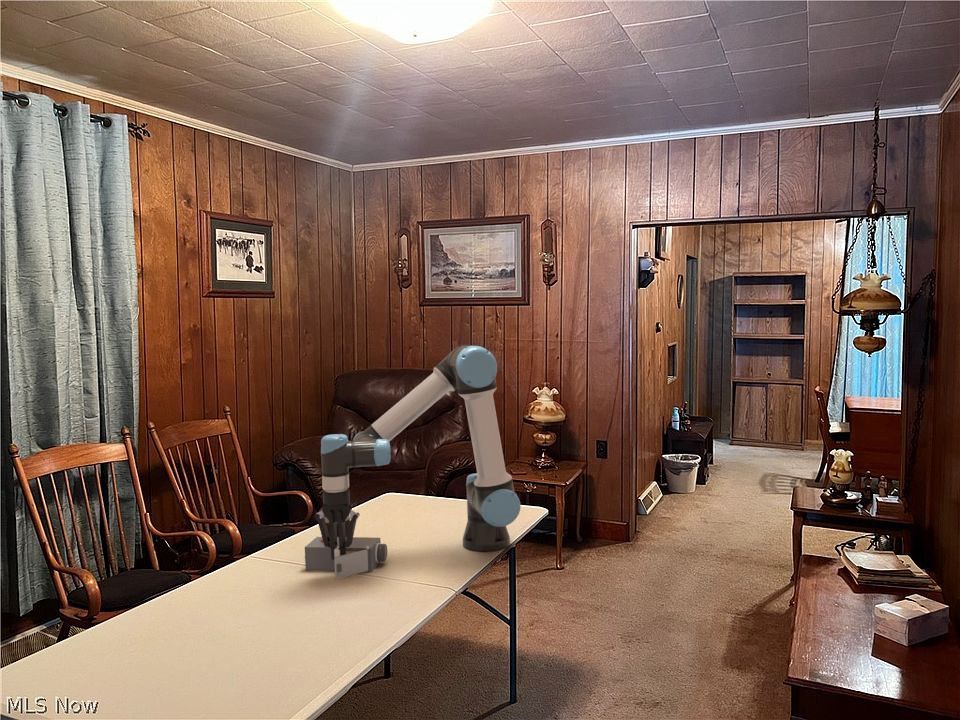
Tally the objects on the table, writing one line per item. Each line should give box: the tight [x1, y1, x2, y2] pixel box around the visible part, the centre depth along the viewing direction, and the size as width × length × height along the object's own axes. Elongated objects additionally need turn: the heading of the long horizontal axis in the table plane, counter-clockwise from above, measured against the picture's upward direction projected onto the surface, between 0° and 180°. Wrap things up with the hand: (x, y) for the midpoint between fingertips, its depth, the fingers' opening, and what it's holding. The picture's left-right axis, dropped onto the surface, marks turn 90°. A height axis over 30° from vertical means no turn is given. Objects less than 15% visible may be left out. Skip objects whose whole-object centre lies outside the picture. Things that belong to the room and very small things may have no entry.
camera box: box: [304, 536, 388, 573], centre depth 213 cm, size 22×11×8 cm, turn 82°
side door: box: [334, 550, 368, 580], centre depth 204 cm, size 10×1×6 cm, turn 127°
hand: (339, 570), depth 206 cm, fingers closed
